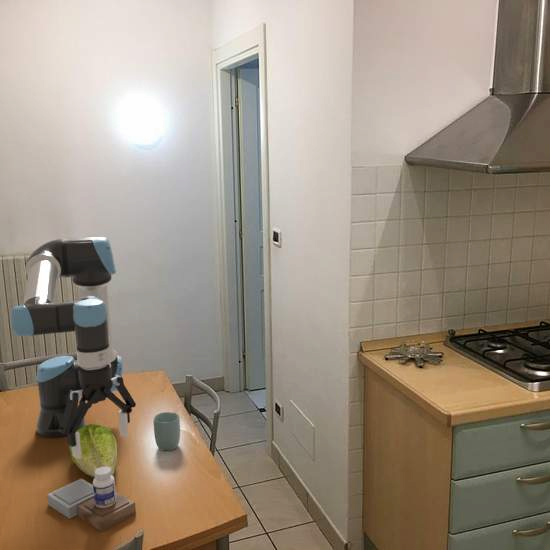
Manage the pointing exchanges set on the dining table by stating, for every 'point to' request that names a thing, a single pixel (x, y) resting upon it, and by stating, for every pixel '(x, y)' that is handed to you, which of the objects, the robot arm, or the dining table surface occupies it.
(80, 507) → the stand
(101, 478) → the pill bottle
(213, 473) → the dining table surface
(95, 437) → the lettuce
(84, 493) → the stand
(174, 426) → the cup
